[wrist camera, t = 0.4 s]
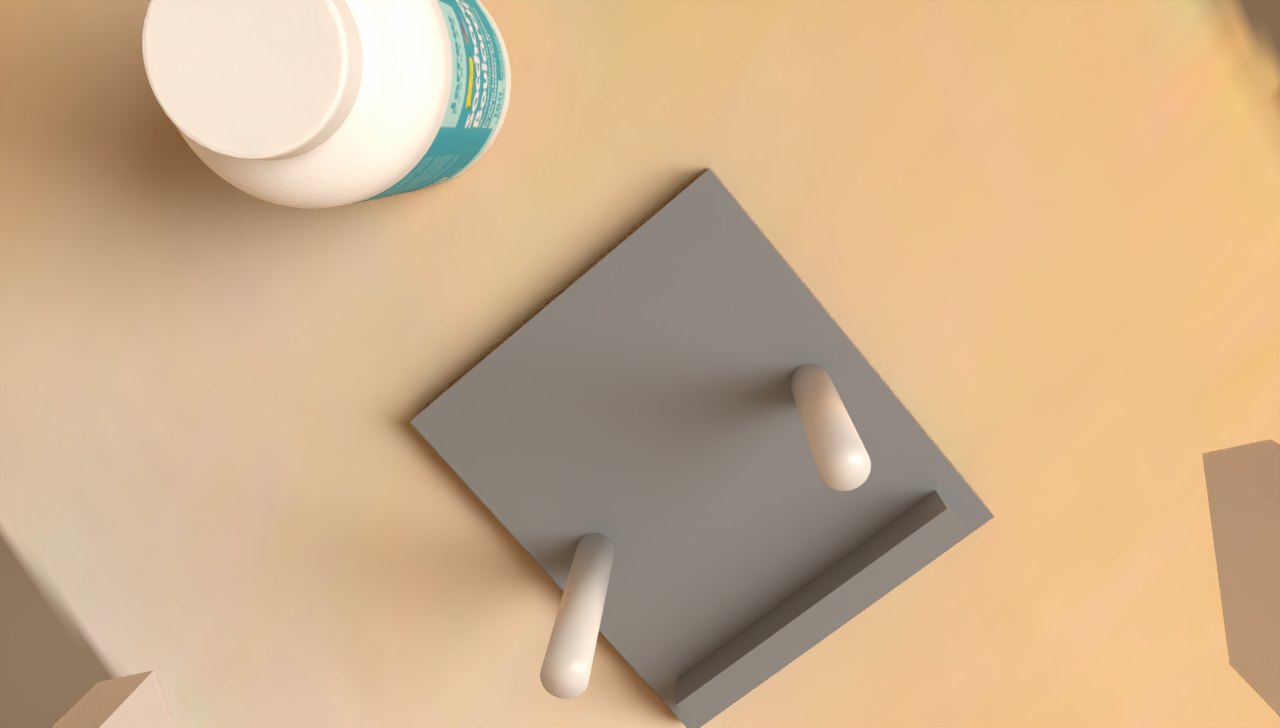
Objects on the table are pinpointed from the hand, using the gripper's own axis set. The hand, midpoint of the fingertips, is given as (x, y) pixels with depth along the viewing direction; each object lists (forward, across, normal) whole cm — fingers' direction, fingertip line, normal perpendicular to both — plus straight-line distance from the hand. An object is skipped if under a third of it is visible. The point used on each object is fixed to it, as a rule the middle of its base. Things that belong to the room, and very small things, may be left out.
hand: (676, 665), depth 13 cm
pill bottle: (+26, -8, +10) cm, 29 cm away
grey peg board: (+25, -1, -6) cm, 26 cm away
